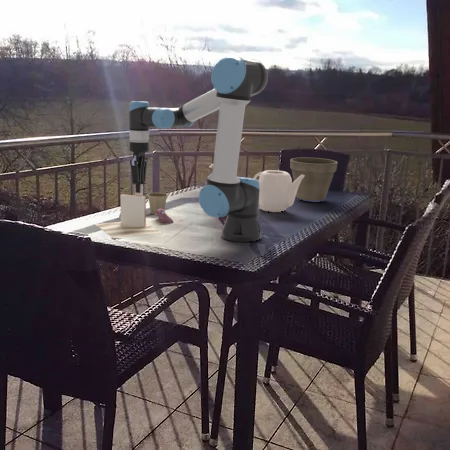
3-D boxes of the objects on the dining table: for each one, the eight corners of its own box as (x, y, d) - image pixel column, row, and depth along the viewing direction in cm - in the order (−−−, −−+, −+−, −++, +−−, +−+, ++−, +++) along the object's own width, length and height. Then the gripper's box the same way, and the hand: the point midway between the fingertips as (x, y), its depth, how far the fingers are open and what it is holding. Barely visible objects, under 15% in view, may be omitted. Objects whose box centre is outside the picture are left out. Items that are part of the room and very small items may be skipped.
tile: (145, 225, 203) (145, 196, 200) (144, 226, 201) (144, 197, 198) (122, 223, 205) (122, 194, 202) (120, 224, 203) (120, 194, 201)
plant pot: (323, 207, 259) (327, 164, 254) (279, 200, 271) (282, 159, 266) (340, 200, 280) (344, 160, 274) (298, 194, 292) (301, 156, 287)
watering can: (296, 217, 232) (299, 176, 228) (243, 209, 244) (245, 170, 240) (307, 211, 246) (310, 172, 241) (256, 204, 258) (259, 167, 253)
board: (161, 234, 194) (161, 232, 194) (113, 240, 184) (113, 237, 184) (139, 221, 212) (139, 220, 212) (94, 226, 202) (94, 224, 202)
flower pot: (164, 216, 224) (164, 197, 221) (143, 214, 225) (143, 195, 223) (170, 212, 233) (170, 193, 230) (151, 210, 234) (151, 192, 232)
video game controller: (159, 223, 218) (152, 209, 215) (168, 218, 219) (161, 204, 216) (165, 228, 209) (157, 214, 206) (174, 223, 210) (167, 209, 207)
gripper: (136, 139, 208) (136, 196, 214) (123, 142, 196) (123, 202, 201) (154, 140, 206) (153, 198, 212) (141, 143, 194) (141, 203, 200)
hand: (139, 200), depth 207 cm, fingers closed
